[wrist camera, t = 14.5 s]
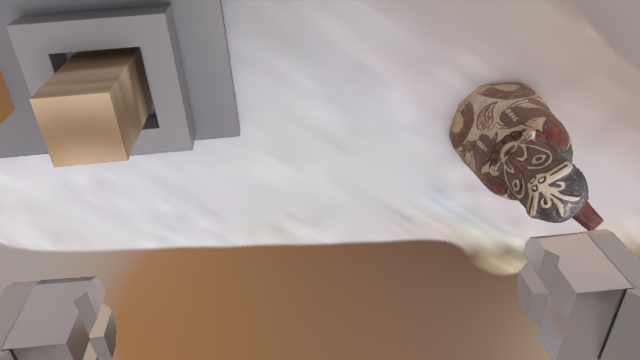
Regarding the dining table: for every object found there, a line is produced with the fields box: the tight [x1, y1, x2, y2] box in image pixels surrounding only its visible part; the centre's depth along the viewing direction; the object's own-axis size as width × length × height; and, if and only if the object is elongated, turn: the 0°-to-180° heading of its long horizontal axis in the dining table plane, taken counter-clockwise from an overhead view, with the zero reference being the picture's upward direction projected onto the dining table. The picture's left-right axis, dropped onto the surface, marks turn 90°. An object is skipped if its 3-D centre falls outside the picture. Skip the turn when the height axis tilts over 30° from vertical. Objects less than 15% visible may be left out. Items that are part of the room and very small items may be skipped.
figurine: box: [450, 83, 603, 231], centre depth 35 cm, size 7×7×12 cm
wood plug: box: [29, 47, 153, 167], centre depth 31 cm, size 4×4×8 cm
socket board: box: [0, 0, 240, 158], centre depth 30 cm, size 21×19×6 cm
